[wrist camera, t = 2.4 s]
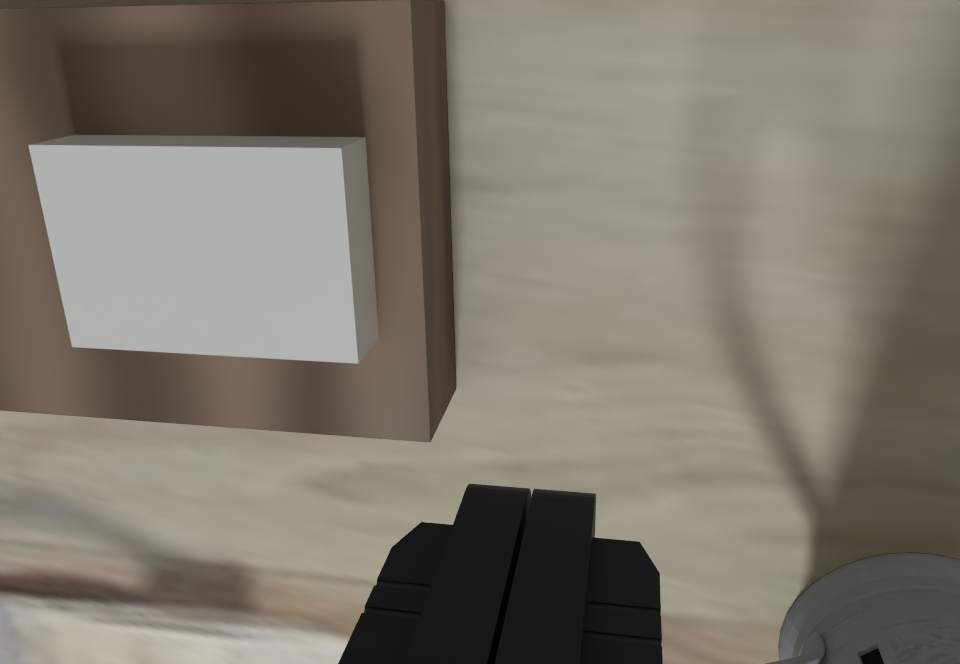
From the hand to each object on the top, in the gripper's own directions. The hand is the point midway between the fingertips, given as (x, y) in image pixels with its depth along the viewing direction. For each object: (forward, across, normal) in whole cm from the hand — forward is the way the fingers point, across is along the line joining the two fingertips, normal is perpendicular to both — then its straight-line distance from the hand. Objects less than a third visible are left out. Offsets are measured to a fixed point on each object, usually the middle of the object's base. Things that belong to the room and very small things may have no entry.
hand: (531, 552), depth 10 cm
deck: (+18, +15, 0) cm, 23 cm away
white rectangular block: (+14, +11, 0) cm, 18 cm away
